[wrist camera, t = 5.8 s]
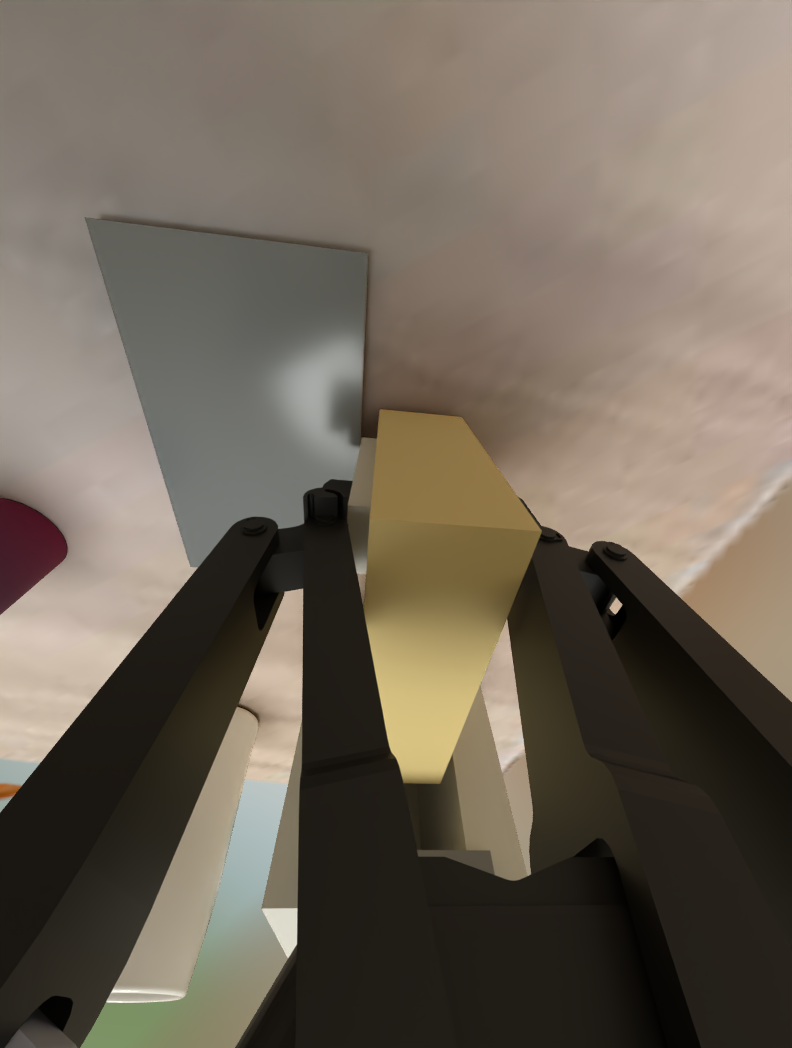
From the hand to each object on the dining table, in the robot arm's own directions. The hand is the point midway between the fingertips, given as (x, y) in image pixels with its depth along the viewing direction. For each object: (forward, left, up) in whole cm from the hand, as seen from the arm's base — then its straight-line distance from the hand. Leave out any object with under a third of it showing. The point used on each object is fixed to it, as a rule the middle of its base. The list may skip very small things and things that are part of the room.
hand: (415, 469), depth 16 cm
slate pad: (0, -8, -1) cm, 8 cm away
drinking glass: (+27, -14, -2) cm, 30 cm away
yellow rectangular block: (+5, 0, -1) cm, 5 cm away
